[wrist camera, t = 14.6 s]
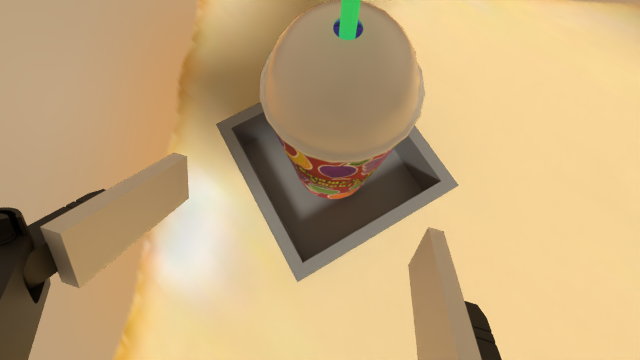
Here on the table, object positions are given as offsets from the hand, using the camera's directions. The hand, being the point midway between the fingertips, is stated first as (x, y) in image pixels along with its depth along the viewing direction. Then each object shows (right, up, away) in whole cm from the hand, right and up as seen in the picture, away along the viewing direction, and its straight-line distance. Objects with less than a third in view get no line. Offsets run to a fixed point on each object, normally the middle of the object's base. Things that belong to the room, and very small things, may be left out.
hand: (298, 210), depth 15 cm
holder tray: (+2, +2, +13) cm, 14 cm away
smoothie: (+2, +3, +13) cm, 13 cm away
